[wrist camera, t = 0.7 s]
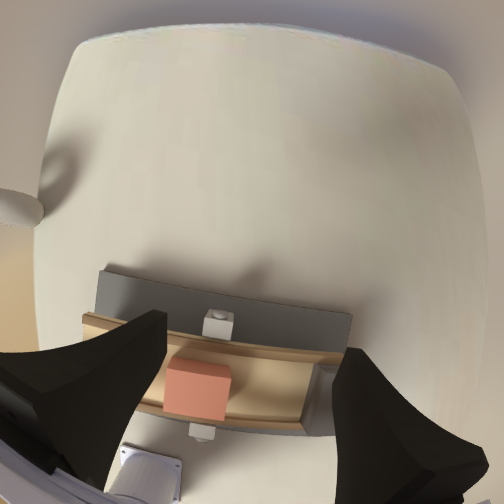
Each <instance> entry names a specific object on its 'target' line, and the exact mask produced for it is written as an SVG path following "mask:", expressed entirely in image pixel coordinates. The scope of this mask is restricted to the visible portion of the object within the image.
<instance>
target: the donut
mask: <svg viewBox="0 0 504 504" xmlns="http://www.w3.org/2000/svg"><path fill="white" fill-rule="evenodd" d="M43 216H44V209H43V206H42V204H41V202H40V201H38V200H37V199H36V198H34V197H32V196H30V195H27V194H24V193H20V192H16V191H13V190H7V189H1V188H0V224H3V225H9V226H15V227H23V228H33V227H35V226H37V225H38V224H40V222H41V221H42V219H43Z"/></svg>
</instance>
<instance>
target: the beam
mask: <svg viewBox="0 0 504 504" xmlns="http://www.w3.org/2000/svg"><path fill="white" fill-rule="evenodd" d="M82 323H83V324H84V333H83V341H86V340H88V339H91V338H94V337H97V336H99V335H101V334H103V333H106V332H108V331H110V330H113V329H115V328H117V327H119V326H121V325H123V324H125V323H127V321H123V320H119V319H115V318H111V317H107V316H103V315H99V314H95V313H91V312H88V313H85V314H83V316H82ZM172 356H173V357H178V358H184V359H189V360H195V361H201V362H207V363H214V364H220V365H227V366H229V367H230V373H231V384H230V390H229V395H228V401H227V407H226V412H225V418H224V421H220V420H213V419H205V418H198V417H192V416H186V415H180V414H175V413H169V412H164V411H163V402H164V391H165V381H166V371H167V367H168V364H169V362H170V360H171V357H172ZM343 357H344V354H342V353H338V352H324V351H311V350H300V349H290V348H281V347H272V346H263V345H255V344H248V343H241V342H234V341H227V340H220V339H214V338H208V337H202V336H196V335H191V334H185V333H180V332H174V331H169V330H167V354H166V357H165V359H164V361H163V364H162V366H161V368H160V370H159V372H158V374H157V376H156V377H155V379H154V380H153V382H152V384H151V385H150V387H149V388H148V390H147V392H146V393H145V395H144V396H143V398H142V400H141V401H140V403H139V404H138V406H137V408H136V409H135V410H139V411H143V412H147V413H152V414H156V415H161V416H166V417H171V418H177V419H182V420H188V421H195V422H201V423H208V424H216V425H224V426H234V427H245V428H258V429H278V430H305V432H306V434H307V435H308V436H336V435H335V427H334V419H333V411H332V383H333V381H334V378H335V376H336V374H337V371H338V369H339V366H340V364H341V362H342V359H343Z"/></svg>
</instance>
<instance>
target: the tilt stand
mask: <svg viewBox="0 0 504 504" xmlns="http://www.w3.org/2000/svg"><path fill="white" fill-rule="evenodd" d="M153 309H155V310H159V311H162V312H166V313H167V330H169V331H174V332H180V333H185V334H191V335H196V336H202V337H208V338H214V339H220V340H227V341H234V342H241V343H248V344H255V345H263V346H272V347H281V348H290V349H300V350H311V351H324V352H338V353H342V354H344V353H345V349H346V344H347V340H348V335H349V331H350V326H351V321H352V316H353V315H351V314H347V313H339V312H331V311H324V310H317V309H310V308H303V307H296V306H289V305H282V304H276V303H270V302H263V301H257V300H251V299H245V298H239V297H233V296H228V295H222V294H216V293H211V292H205V291H200V290H195V289H189V288H184V287H179V286H174V285H169V284H164V283H159V282H154V281H149V280H145V279H140V278H135V277H131V276H126V275H122V274H117V273H113V272H108V271H104V270H101V271H99V278H98V286H97V294H96V303H95V314H99V315H103V316H107V317H111V318H115V319H119V320H123V321H127V322H129V321H131V320H133V319H135V318H137V317H139V316H141V315H143V314H145V313H147V312H149V311H151V310H153ZM136 411H139V410H136ZM139 412H143V411H139ZM143 413H147V412H143ZM147 414H151V415H155V416H159V417H163V418H167V419H171V420H176V421H181V422H185V423H190V426H189V435H188V436H192V437H194V439H195V440H196V441H198V442H207V441H208V439H209V440H214V435H215V429H216V428H219V429H226V430H233V431H241V432H250V433H259V434H271V435H286V436H308V435H307V434H306V432H305V430H278V429H258V428H245V427H234V426H224V425H216V424H208V423H201V422H195V421H188V420H182V419H177V418H171V417H166V416H161V415H156V414H152V413H147ZM313 437H321V436H313Z"/></svg>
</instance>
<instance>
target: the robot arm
mask: <svg viewBox="0 0 504 504" xmlns="http://www.w3.org/2000/svg"><path fill="white" fill-rule="evenodd" d="M166 354H167V313H166V312H162V311H159V310H155V309H153V310H151V311H149V312H147V313H145V314H143V315H141V316H139V317H137V318H135V319H133V320H131V321H129V322H127V323H125V324H123V325H121V326H119V327H117V328H115V329H113V330H110V331H108V332H106V333H103V334H101V335H99V336H97V337H94V338H91V339H88V340H86V341H82V342H79V343H76V344H73V345H69V346H64V347H60V348H55V349H50V350H44V351H35V352H23V353H2V352H0V497H1V498H2V499H4V500H5V501H6V502H7V503H8V504H178V503H179V493H180V481H181V470H182V461H181V460H180V459H176V458H171V457H167V456H163V455H159V454H155V453H151V452H147V451H143V450H140V449H136V448H133V447H129V446H126V445H121V446H120V461H121V469H120V471H119V473H118V475H117V477H116V479H115V481H114V482H113V484H112V486H111V488H110V490H109V492H106V493H104V492H103V491H104V487H105V484H106V481H107V477H108V474H109V471H110V468H111V465H112V462H113V460H114V457H115V454H116V451H117V449H118V446H119V444H120V442H121V439H122V437H123V434H124V432H125V430H126V428H127V425H128V423H129V421H130V419H131V417H132V415H133V413H134V411H135V409H136V408H137V406H138V404H139V403H140V401H141V400H142V398H143V396H144V395H145V393H146V392H147V390H148V388H149V387H150V385H151V384H152V382H153V380H154V379H155V377H156V376H157V374H158V372H159V370H160V368H161V366H162V364H163V361H164V359H165V357H166ZM332 411H333V419H334V427H335V435H336V444H337V456H338V464H337V486H336V498H335V504H462V503H463V502H464V498H463V493H465V492H466V491H467V490H468V489H470V488H471V487H472V486H473V485H474V484H476V483H477V482H478V481H479V480H480V479H481V478H482V477H483V476H484V475H485V473H486V472H487V470H488V467H489V464H488V461H487V458H486V456H485V454H484V451H483V449H482V448H481V447H479V446H477V445H474V444H472V443H470V442H467V441H465V440H463V439H461V438H459V437H457V436H455V435H453V434H452V433H450V432H448V431H446V430H445V429H443V428H441V427H440V426H438V425H437V424H436V423H434V422H433V421H431V420H430V419H428V418H427V417H426V416H424V415H423V414H422V413H421V412H420V411H418V410H417V409H416V408H415V407H414V406H413V405H411V404H410V403H409V402H408V401H407V400H406V399H405V398H404V397H403V396H402V395H401V394H400V393H399V392H398V391H397V390H396V389H395V388H394V386H393V385H392V384H391V383H390V382H389V381H388V380H387V379H386V377H385V376H384V375H383V374H382V373H381V371H380V370H379V369H378V368H377V367H376V365H375V364H374V363H373V362H372V361H371V359H370V358H369V357H368V356H367V355H366V353H365V352H364V351H363V350H362V349H358V348H350V347H347V349H346V352H345V354H344V357H343V359H342V362H341V364H340V366H339V369H338V371H337V374H336V376H335V378H334V381H333V383H332ZM123 450H124V451H125V452H124V451H123ZM178 465H179V466H178ZM477 504H491V503H490V500H485V501H483V502H480V503H477Z"/></svg>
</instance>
